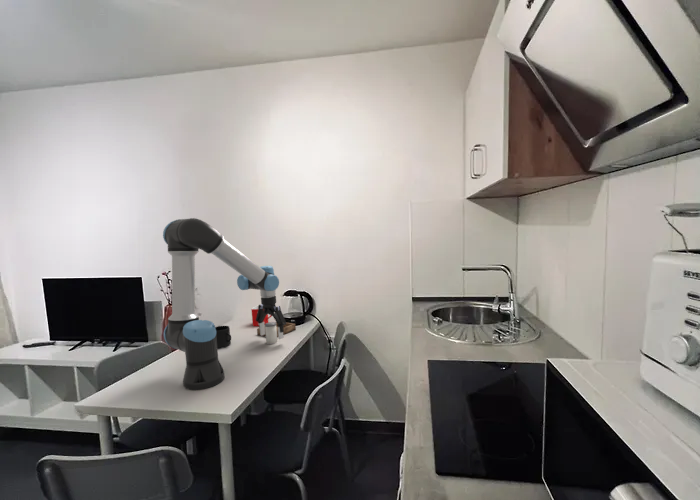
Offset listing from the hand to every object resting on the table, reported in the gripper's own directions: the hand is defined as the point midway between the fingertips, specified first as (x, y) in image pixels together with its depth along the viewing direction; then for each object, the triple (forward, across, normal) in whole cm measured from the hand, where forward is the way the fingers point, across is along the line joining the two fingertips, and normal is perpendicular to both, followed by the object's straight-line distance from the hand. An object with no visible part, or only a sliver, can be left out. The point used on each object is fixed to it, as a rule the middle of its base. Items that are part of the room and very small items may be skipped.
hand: (271, 336), depth 181 cm
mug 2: (+3, +30, -21) cm, 37 cm away
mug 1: (+3, +20, +15) cm, 25 cm away
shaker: (+3, 0, 0) cm, 3 cm away
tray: (+3, +10, -13) cm, 17 cm away
